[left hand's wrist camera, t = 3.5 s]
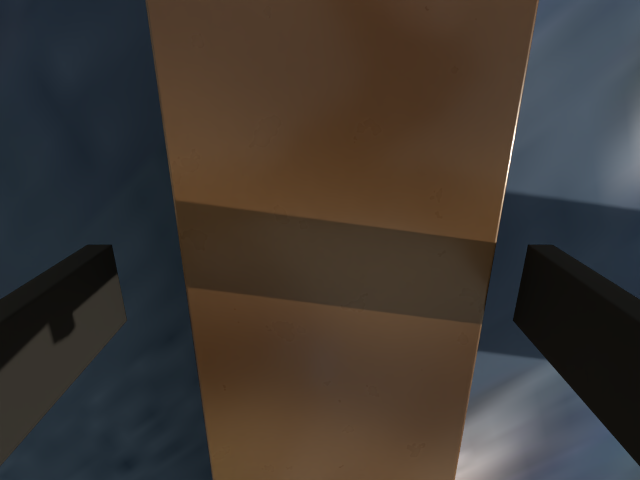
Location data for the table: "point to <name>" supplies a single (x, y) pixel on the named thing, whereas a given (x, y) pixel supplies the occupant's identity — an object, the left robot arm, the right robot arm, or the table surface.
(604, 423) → the left robot arm
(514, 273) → the table surface
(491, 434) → the table surface
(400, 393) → the wide beam
